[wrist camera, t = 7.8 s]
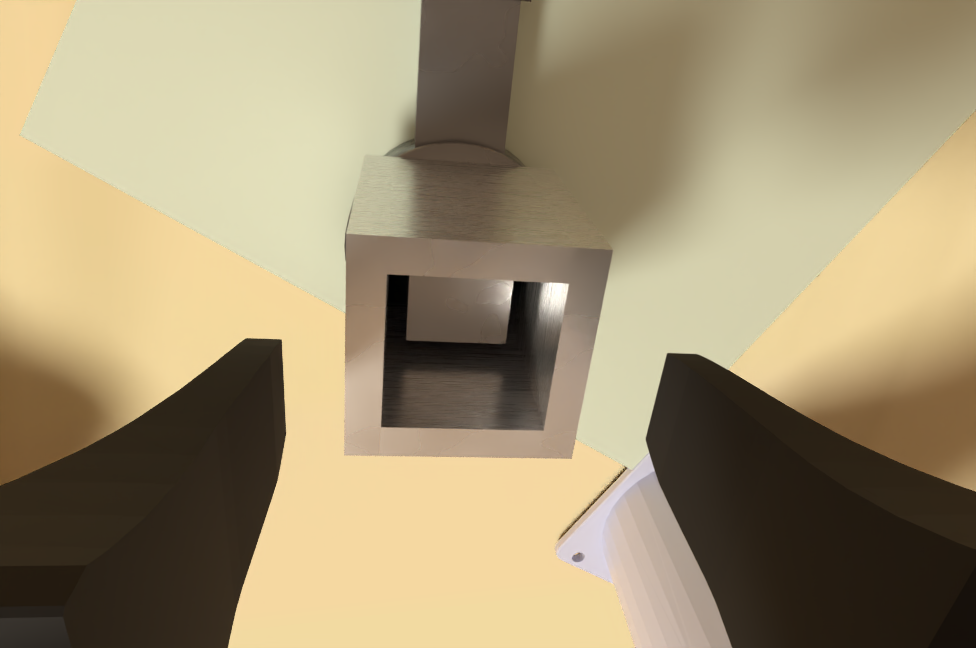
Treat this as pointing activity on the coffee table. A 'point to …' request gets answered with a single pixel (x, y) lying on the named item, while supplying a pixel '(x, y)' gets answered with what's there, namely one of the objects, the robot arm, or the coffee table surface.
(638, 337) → the mat
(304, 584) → the coffee table surface
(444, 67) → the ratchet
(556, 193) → the socket
